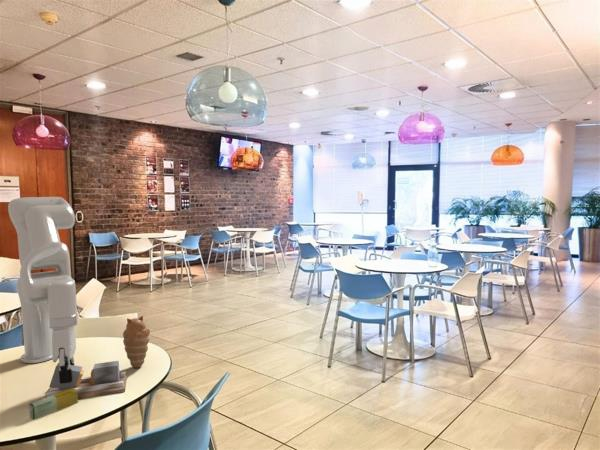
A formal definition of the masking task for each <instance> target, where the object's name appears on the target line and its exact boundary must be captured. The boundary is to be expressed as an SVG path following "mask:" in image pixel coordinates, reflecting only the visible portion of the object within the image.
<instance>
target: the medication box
mask: <svg viewBox="0 0 600 450" xmlns="http://www.w3.org/2000/svg"><path fill="white" fill-rule="evenodd" d="M78 403H79V399H78V395H77V390H76V389H74V388H73V389H70V390H67V391H64V392H61V393H59V394H56V395H53V396H50V397H47V398H45V397H44V398H42V399H39V400H36V401H33V402H30V403H28V407H29V408H28V409H29V418H30V419H31V420H35V419H39V418H41V417H44V416H47V415H50V414H51V413H54V412H57V411H59V410H63V409H65V408H68V407H70V406H72V405H75V404H78Z"/></svg>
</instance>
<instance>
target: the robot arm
mask: <svg viewBox="0 0 600 450" xmlns="http://www.w3.org/2000/svg"><path fill="white" fill-rule="evenodd" d="M7 208H8V209H7V210H8V211H7V212H8V215H9V218H10V221H11V223H12V225H13V227H14V228H15V231H16V233H17V242H18V243H17V245H18V246H17V247H18V256H19V257H18V258H19V263H20V266H21V267H20V270H19V278H18V279H17V282H16V290H17V293H18V294H17V295H18V298H19V303H20V308H21V319H22V334H23V343H24V344H23V345H24V353H23V354H22V355H21V356H20V357H19V359H20V362H21V363H23V364H36V363H37V364H38V363H42V362H46V361H49V360H52V362H53V363H56V362H58V363H59V377H60V383H61V384H62V383H69V382H72V371H71V369H70V365H75V359H74V355H75V352H76V349H77V342H76V341H77V339H76V330H75V329H76V328H75V326H77V325H78V324H79V320H78V307H77V293H76V292H77V291H76V289H77V288H76V286H77V285H76V281H75V280H74V278H73V277H72V271H71V259H70V258H71V257H70V256H71V255H70V250H69V247H68V246H67V244H66V243H64V242H61V238H60V235H59V234H60V233H59V230H65V229H72V228H73V227H74V226H75V223H76V215H75V212H74V209H73V208H72V206H71V205H70V203H68V201H67V200H65V199H64V198H63V197H60V196H29V197H17V198H14V199H11V200H10V201H9V202H8V206H7ZM52 268H54V269H55V270H51V271H43V272H33V273H32V271H35V270H44V269H52Z"/></svg>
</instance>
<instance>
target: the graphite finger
mask: <svg viewBox="0 0 600 450" xmlns="http://www.w3.org/2000/svg"><path fill="white" fill-rule="evenodd" d="M70 369H71V371H72V382H69V383H62V384H61V383H60V377H59V362H58V363H57V364H56V366H55V368H54V371H53V374H52V377H51V381H50V383H49V388H50V387H52V388H59V389H72V388H76V387H79V385H80V382H81V379H82V378H83V376H84V372H85V369H83V366H80V365H76V364H74V365H70Z"/></svg>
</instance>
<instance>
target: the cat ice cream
mask: <svg viewBox="0 0 600 450" xmlns="http://www.w3.org/2000/svg"><path fill="white" fill-rule="evenodd" d="M126 322H127V323H126V325H125V329H124V330H123V333H122V336H123V345H124V352H125V353H126V357H127V359H128V361H129V362H130V366H131V367H132V368H136V369H137V368H140V367H142V366H143V365H144V363H145V358H146V357H147V352H148V349H149V346H148V344H149V342H150V338H149V335H150V333H151V332H150V331H151V330H150V328H149V327H148V326H146V324H145V322H144V316H143V315H141V316H140V317H139V318H137V317H134V318H126Z"/></svg>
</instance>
